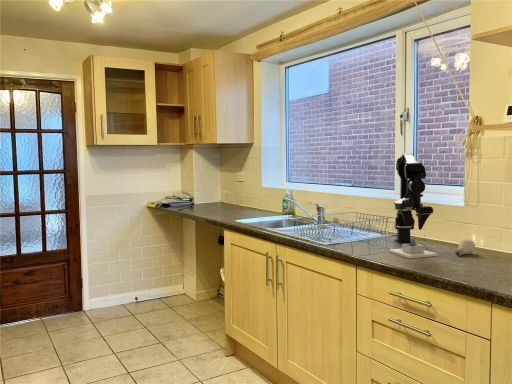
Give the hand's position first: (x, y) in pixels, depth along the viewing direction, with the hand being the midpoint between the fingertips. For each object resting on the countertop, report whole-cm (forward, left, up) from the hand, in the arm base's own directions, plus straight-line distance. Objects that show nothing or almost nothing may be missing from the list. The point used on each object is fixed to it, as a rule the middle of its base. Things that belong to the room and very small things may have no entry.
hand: (413, 228), depth 199 cm
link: (0, 0, -10) cm, 10 cm away
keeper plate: (0, 0, -11) cm, 11 cm away
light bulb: (+8, +20, -12) cm, 24 cm away
